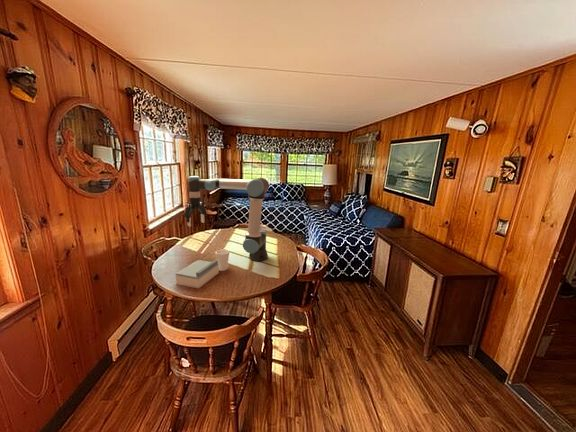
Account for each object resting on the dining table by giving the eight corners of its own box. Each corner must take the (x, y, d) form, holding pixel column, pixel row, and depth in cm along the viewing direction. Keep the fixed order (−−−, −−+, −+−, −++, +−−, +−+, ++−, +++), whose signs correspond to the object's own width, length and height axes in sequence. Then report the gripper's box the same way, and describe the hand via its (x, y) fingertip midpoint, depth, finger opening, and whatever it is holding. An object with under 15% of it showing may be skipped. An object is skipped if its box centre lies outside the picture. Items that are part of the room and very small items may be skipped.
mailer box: (218, 273, 165) (218, 265, 163) (198, 288, 144) (198, 279, 143) (198, 269, 169) (198, 261, 168) (176, 284, 148) (175, 275, 147)
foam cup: (213, 270, 169) (212, 252, 166) (221, 265, 177) (220, 248, 175) (224, 272, 166) (224, 255, 163) (232, 267, 174) (231, 250, 171)
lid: (218, 264, 163) (218, 259, 163) (198, 279, 143) (198, 273, 142) (198, 261, 167) (198, 256, 167) (175, 274, 147) (175, 269, 146)
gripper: (203, 194, 192) (204, 220, 196) (177, 198, 169) (179, 227, 174) (210, 195, 189) (211, 221, 193) (185, 199, 166) (186, 228, 171)
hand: (196, 224), depth 184 cm, fingers open, 13 cm apart
